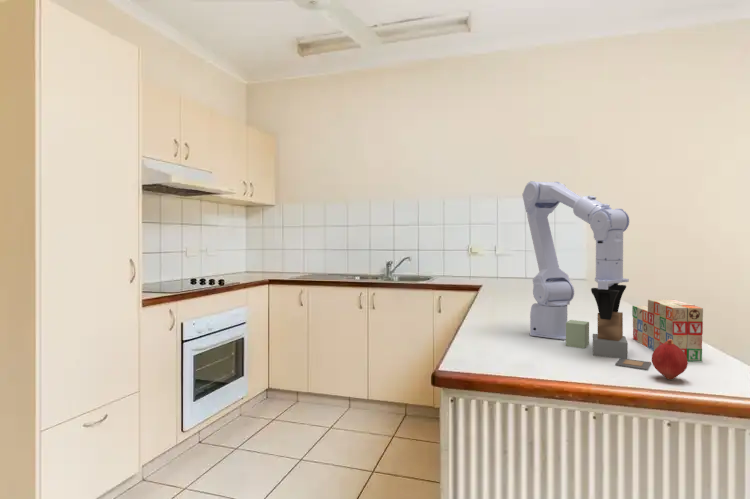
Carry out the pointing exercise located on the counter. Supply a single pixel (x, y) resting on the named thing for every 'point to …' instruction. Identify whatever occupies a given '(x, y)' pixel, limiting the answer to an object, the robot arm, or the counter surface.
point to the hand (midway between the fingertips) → (608, 316)
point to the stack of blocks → (670, 326)
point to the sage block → (577, 333)
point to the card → (633, 364)
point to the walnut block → (611, 327)
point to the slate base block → (610, 347)
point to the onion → (669, 360)
